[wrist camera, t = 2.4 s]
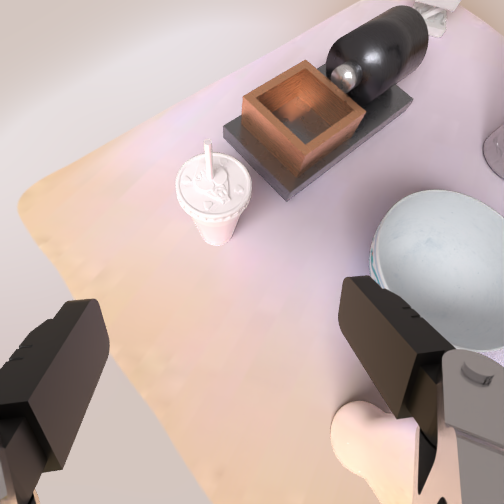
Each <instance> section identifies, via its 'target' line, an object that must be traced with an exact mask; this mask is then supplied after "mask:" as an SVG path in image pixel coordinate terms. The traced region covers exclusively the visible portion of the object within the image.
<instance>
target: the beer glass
mask: <svg viewBox="0 0 504 504" xmlns="http://www.w3.org/2000/svg"><path fill="white" fill-rule="evenodd" d="M417 426H418V424H417V422H416V421H415V419H414V418H413V417H410V418H403V419H396V418H395V416H394V415H393V413H384V412H383V411H382V410H381V409H379V408H378V407H376V406H375V405H373V404H371V403H369V402H365V401H352V402H349V403H347V404H345V405H344V406H342V407H341V408H340V409H339V410H338V411H337V413H336V414H335V416H334V418H333V421H332V424H331V431H330V437H331V444H332V447H333V450H334V453H335V455H336V457H337V458H338V460H339V461H340V463H341V464H342V465H343V466H344V467H345V468H346V469H348V470H349V471H350V472H352V473H354V474H356V475H358V476H360V477H363V478H365V480H366V481H367V483H368V484H369V486H370V488H371V489H372V491H373V492H374V494H375V495H376V497H377V499H378V500H379V502H380V503H381V504H412V497H413V476H414V454H415V433H416V429H417Z"/></svg>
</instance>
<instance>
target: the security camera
mask: <svg viewBox="0 0 504 504" xmlns="http://www.w3.org/2000/svg"><path fill="white" fill-rule="evenodd" d="M460 1H461V0H414V2H415V4H414V6H413V7H412V8H414V9H415V10H417V11H418V12H419V13H420V14H421V15H422V17H423V18H424V20H425V22H426V25H427V29H428V35H430V36H434V37H437V38H441V37H442V35H443V34H444V32H445V31H446V21H445V20H446V10H444V9H447V10H450V12H453V11H454V10H455V9H456V7H457V6H458V4H459V3H460ZM418 2H421V3H418ZM422 3H424V4H422ZM433 6H436V7H433Z"/></svg>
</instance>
